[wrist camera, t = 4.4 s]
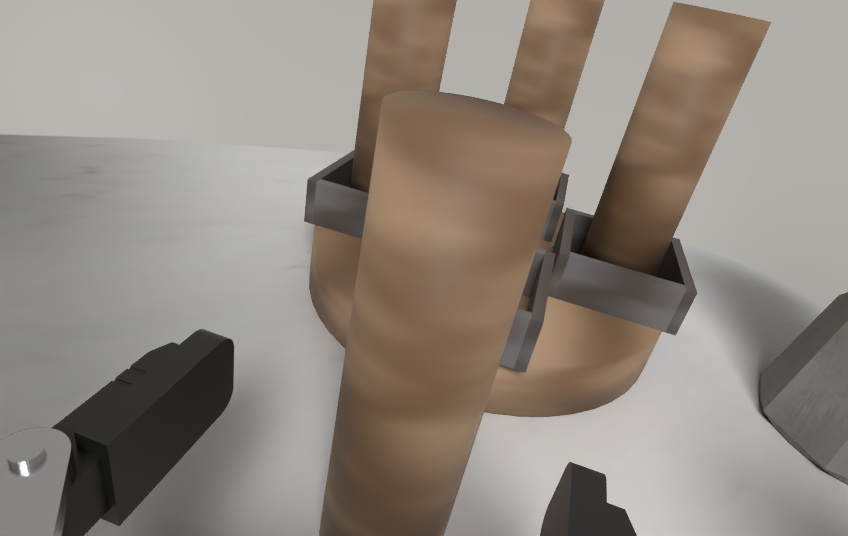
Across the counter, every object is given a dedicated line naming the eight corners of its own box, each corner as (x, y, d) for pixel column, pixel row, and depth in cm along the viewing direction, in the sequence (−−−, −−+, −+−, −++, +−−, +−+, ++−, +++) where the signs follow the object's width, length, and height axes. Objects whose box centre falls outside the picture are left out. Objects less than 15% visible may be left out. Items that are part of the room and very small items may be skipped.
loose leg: (297, 563, 17) (350, 111, 10) (348, 467, 20) (414, 81, 13) (419, 615, 16) (566, 168, 9) (451, 506, 20) (575, 122, 13)
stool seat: (232, 329, 26) (237, -95, 17) (380, 195, 43) (418, -50, 35) (665, 481, 22) (926, 48, 14) (636, 269, 40) (745, 20, 32)
